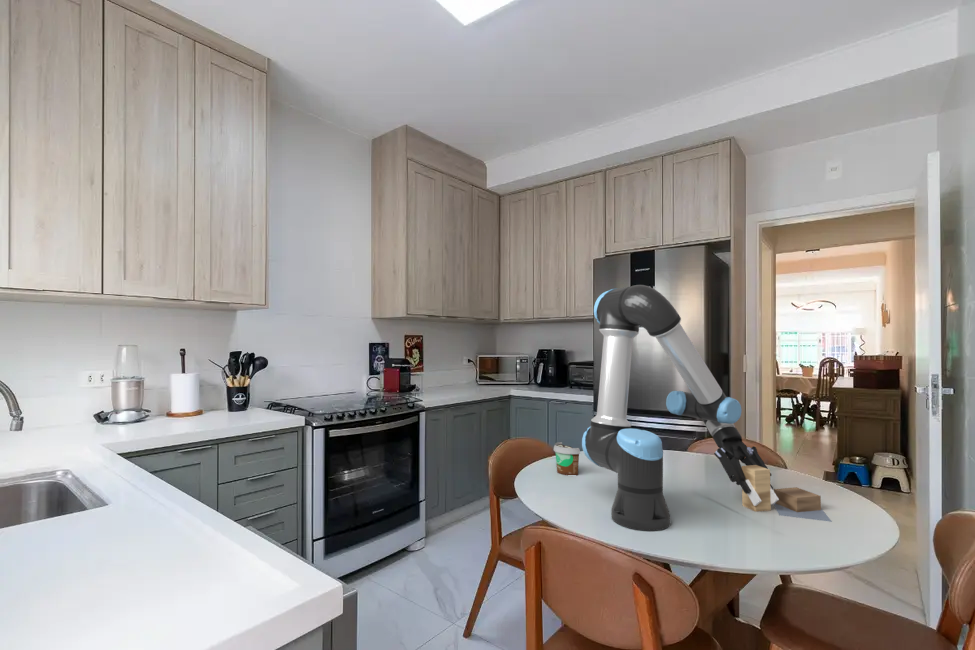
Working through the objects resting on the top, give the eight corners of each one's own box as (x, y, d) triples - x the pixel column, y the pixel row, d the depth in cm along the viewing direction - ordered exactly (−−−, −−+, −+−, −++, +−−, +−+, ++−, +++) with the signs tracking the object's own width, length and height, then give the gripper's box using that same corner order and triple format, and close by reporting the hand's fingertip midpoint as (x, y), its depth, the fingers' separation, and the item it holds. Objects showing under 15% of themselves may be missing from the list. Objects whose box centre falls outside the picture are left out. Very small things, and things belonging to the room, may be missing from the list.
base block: (820, 510, 132) (820, 495, 133) (797, 512, 131) (796, 497, 131) (796, 500, 140) (796, 487, 140) (774, 502, 138) (773, 489, 139)
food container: (547, 469, 176) (547, 443, 177) (560, 467, 179) (560, 441, 179) (565, 478, 165) (565, 449, 166) (580, 476, 168) (580, 448, 168)
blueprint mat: (832, 523, 124) (832, 521, 124) (779, 517, 129) (779, 515, 129) (812, 500, 142) (812, 498, 142) (767, 495, 147) (767, 493, 147)
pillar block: (770, 512, 132) (770, 469, 133) (755, 513, 131) (754, 470, 132) (757, 506, 137) (756, 465, 138) (742, 507, 136) (741, 466, 136)
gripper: (742, 437, 152) (786, 506, 135) (693, 440, 148) (731, 511, 131) (754, 424, 147) (801, 494, 130) (704, 426, 143) (745, 498, 126)
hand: (766, 502), depth 131 cm, fingers closed on pillar block, 5 cm apart
